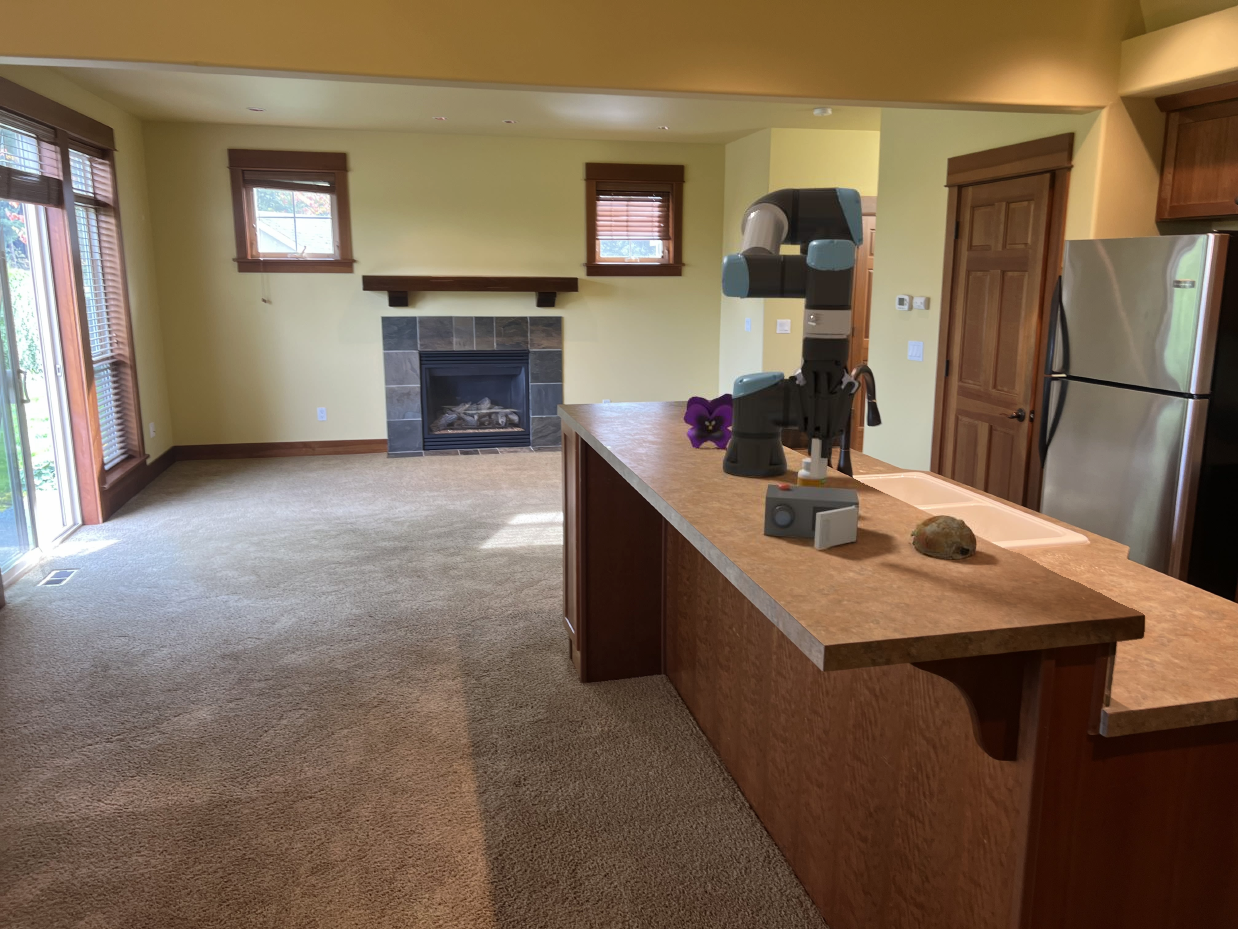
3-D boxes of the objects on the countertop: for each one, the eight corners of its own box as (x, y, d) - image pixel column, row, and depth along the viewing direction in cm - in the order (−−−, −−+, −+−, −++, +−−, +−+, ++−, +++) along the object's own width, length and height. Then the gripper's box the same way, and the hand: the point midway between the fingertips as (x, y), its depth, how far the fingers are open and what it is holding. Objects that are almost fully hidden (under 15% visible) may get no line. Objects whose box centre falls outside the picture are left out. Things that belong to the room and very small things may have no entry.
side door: (814, 548, 151) (816, 511, 149) (853, 540, 156) (855, 504, 154) (821, 550, 149) (823, 514, 148) (860, 542, 154) (862, 506, 153)
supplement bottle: (823, 511, 175) (826, 463, 173) (796, 510, 176) (798, 462, 174) (823, 505, 180) (826, 458, 178) (796, 503, 182) (798, 456, 180)
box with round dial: (766, 520, 169) (768, 480, 167) (853, 526, 165) (856, 485, 164) (763, 537, 157) (765, 494, 156) (856, 543, 154) (859, 500, 153)
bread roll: (932, 581, 147) (953, 544, 142) (893, 540, 154) (911, 504, 149) (975, 572, 151) (996, 537, 147) (935, 533, 158) (954, 498, 154)
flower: (684, 459, 251) (680, 444, 238) (688, 408, 255) (684, 392, 242) (736, 461, 248) (735, 446, 235) (739, 410, 252) (738, 393, 239)
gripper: (780, 334, 149) (773, 472, 153) (848, 338, 139) (838, 485, 144) (806, 333, 154) (799, 467, 158) (873, 337, 144) (864, 479, 149)
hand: (818, 475), depth 151 cm, fingers closed
